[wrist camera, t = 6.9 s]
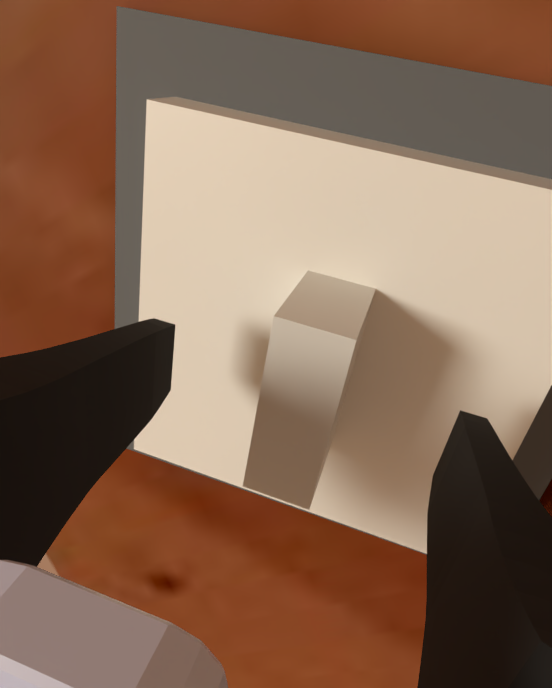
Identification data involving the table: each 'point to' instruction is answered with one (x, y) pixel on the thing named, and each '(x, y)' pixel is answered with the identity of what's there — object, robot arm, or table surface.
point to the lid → (337, 309)
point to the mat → (321, 112)
